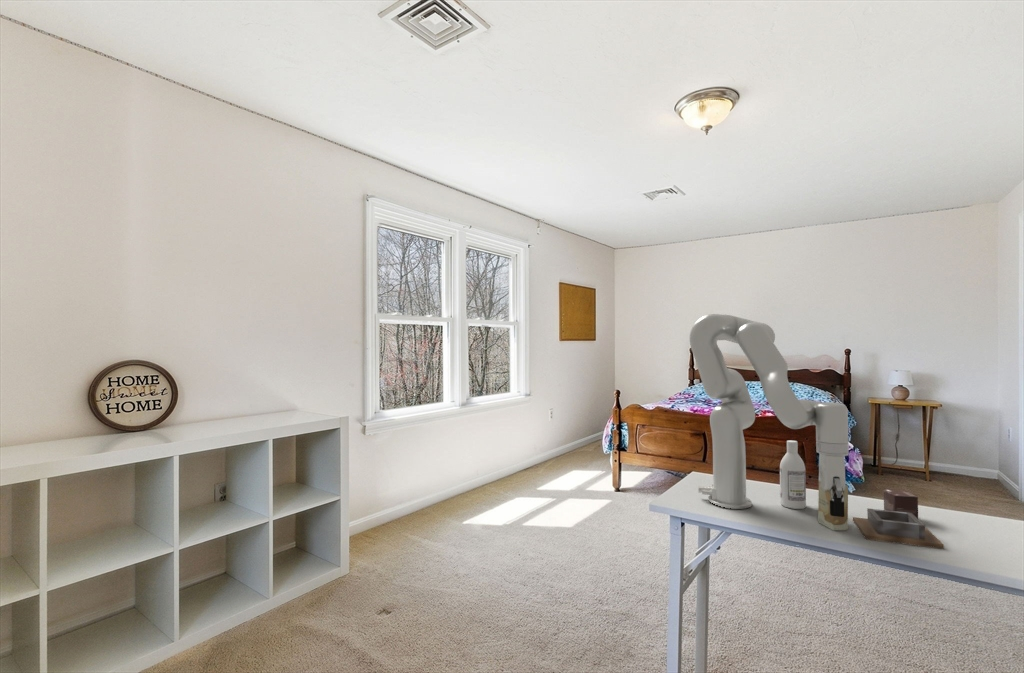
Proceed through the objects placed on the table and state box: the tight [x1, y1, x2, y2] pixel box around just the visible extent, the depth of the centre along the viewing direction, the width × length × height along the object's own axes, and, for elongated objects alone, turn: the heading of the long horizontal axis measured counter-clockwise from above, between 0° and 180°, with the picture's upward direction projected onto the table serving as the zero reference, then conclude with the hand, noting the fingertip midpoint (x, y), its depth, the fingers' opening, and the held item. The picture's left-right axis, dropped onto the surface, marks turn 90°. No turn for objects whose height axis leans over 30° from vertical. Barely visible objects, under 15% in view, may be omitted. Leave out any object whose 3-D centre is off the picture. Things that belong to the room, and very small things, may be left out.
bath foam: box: [779, 439, 807, 510], centre depth 155 cm, size 7×7×20 cm
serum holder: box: [852, 507, 945, 549], centre depth 132 cm, size 16×14×4 cm
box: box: [883, 489, 919, 520], centre depth 143 cm, size 6×6×7 cm
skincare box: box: [817, 479, 849, 531], centre depth 138 cm, size 6×4×12 cm
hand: (833, 510), depth 138 cm, fingers open, 9 cm apart
